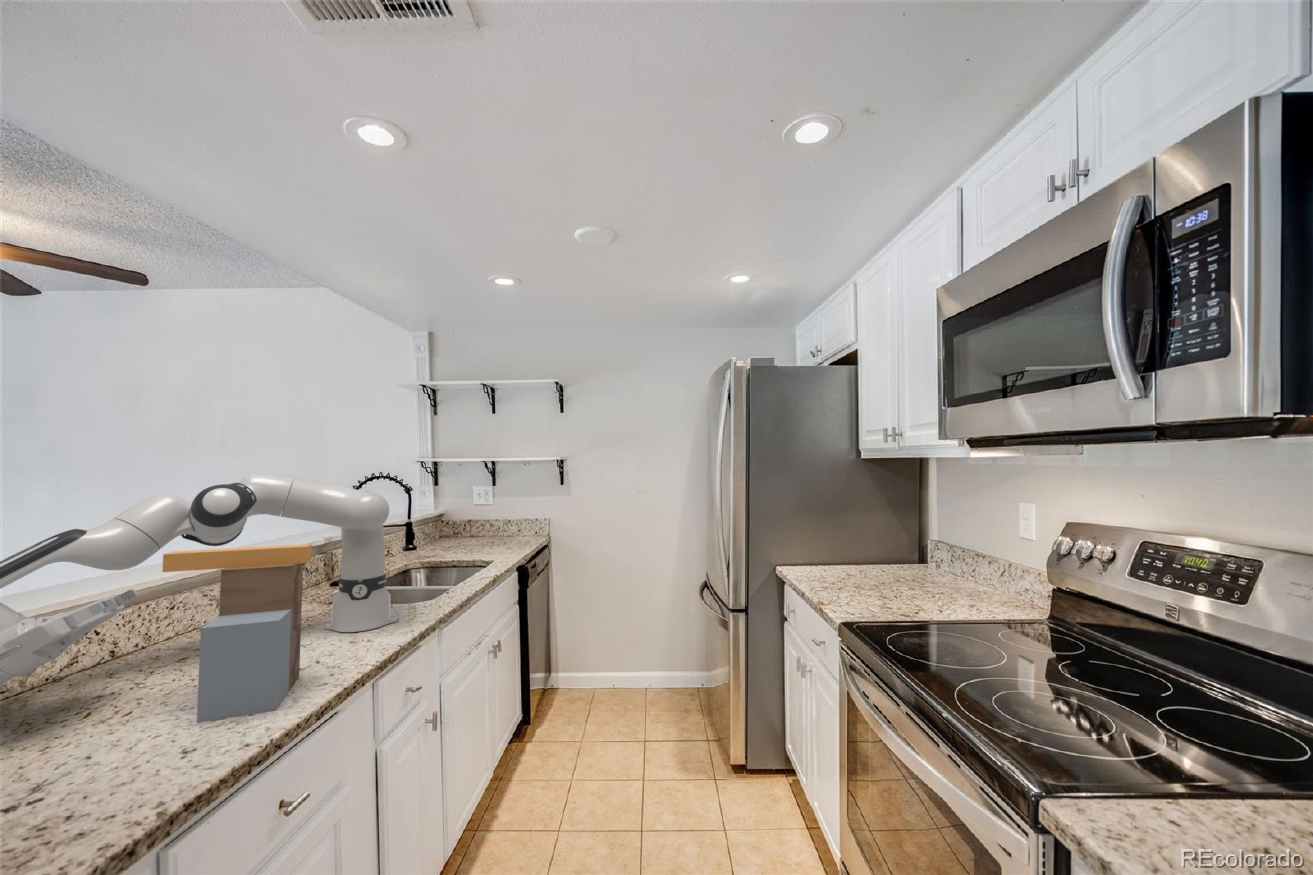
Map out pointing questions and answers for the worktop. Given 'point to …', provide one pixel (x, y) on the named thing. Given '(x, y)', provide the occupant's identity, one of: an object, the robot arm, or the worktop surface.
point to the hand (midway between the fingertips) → (119, 598)
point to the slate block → (243, 664)
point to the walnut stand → (266, 598)
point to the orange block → (236, 557)
